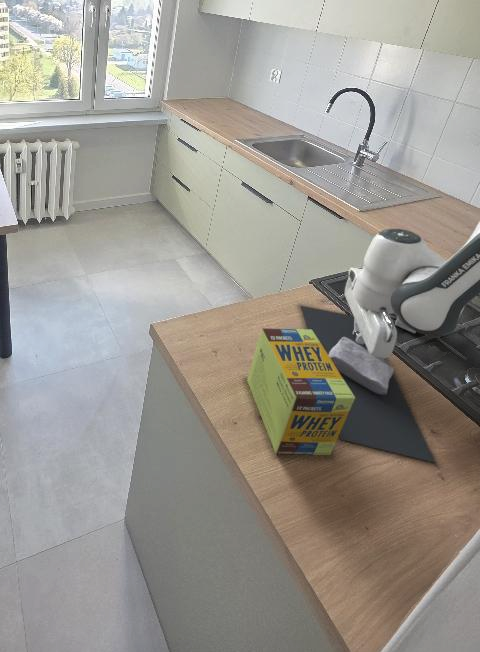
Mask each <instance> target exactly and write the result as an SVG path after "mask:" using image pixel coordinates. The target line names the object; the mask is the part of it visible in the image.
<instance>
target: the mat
mask: <svg viewBox="0 0 480 652" xmlns="http://www.w3.org/2000/svg"><path fill="white" fill-rule="evenodd" d="M300 309H301V312H302V316H303V319H304V322H305V326H306V329H311V330H312V331H313V332H314V334H315V335H316V337H317V338H318V340H319V341H320V343H321V345H322V346H323V348H324V349H325V351H326V352H327V354H328V355H329V352H330V351H331V349H332V348H333V347H334V346H336V344H337V343H338V342H339V340H340V339H341V338H342V337H346V338H348V339H350V340H352V341H354V342H355V343H356V340H355V338H354V335H353V331H354V319H355V318H354V316H353V314H352V315H351V314H346V313H340V312H335V311H331V310H324V309H320V308H315V307H309V306H304V305H301V306H300ZM356 344H358V343H356ZM359 345H360V346H362V347H364V348H366V349H367V346H366V344H359ZM367 350H368V349H367ZM339 373H340V372H339ZM340 375H341V376H342V378H343V379H344V381H345V382H346V384H347V386H348V387H349V389H350V390H351V392H352V393H353V395H354V396H355V399H354V402H353V404H352V406H351V409H350V411H349V413H348V415H347V418H346V420H345V422H344V424H343V427H342V429H341V431H340V434H339V436H338V440H339V441H342V442H346V443H351V444H353V445H354V444H355V445H360V446H363V447H367V448H371V449H376V450H379V451H383V452H387V453H391V454H395V455H399V456H403V457H408V458H412V459H416V460H420V461H424V462H429V463H432V464H436V461H435V459H434V456H433V454H432V452H431V451H430V448H429V446H428V444H427V442H426V440H425V437H424V435H423V433H422V431H421V429H420V427H419V425H418V423H417V420H416V419H415V416H414V415H413V412H412V410H411V408H410V406H409V403H408V401H407V399H406V398H405V395H404V393H403V391H402V389H401V387H400V385H399V383H398V381H397V378H396V376H395V375H394V373H393V375H392V377H391V378H390V379H389V382H388V389H387V393H386V394H385V395H379V394H376V393H374V392H372V391H370V390H368V389H367V388H365V387H364V386H363V385H361V384H359V383H357V382H355V381H353V380H352V379H350V378H349V377H347V376H345V375H343V374H342V373H340Z"/></svg>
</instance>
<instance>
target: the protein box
mask: <svg viewBox="0 0 480 652" xmlns="http://www.w3.org/2000/svg"><path fill="white" fill-rule="evenodd" d="M246 382H247V385H248V387H249V389H250V392H251V394H252V397H253V400H254V403H255V405H256V407H257V410H258V413H259V415H260V417H261V420H262V423H263V426H264V428H265V430H266V432H267V436H268V438H269V440H270V443H271V446H272V448H273V451H274V454H276V455H300V456H301V455H302V456H304V455H305V456H330V455H331V454H332V452H333V450H334V447H335V446H336V443H337V440H338V439H339V437H338V436H339V434H340V431H341V429H342V427H343V424H344V422H345V420H346V418H347V415H348V413H349V411H350V409H351V406H352V404H353V402H354V399H355V396H354V395H353V393H352V392H351V390H350V389H349V387H348V386H347V384H346V382H345V381H344V379H343V378H342V376H341V375H340V373H339V371H338V370H337V368H336V367H335V365H334V363H333V362H332V360H331V359H330V357H329V356H328V354H327V352H326V351H325V349H324V348H323V346H322V345H321V343H320V341H319V340H318V338H317V337H316V335H315V334H314V332H313V331H312V330H311V329H307V328H265V327H262V328H261V330H260V334H259V337H258V340H257V344H256V347H255V351H254V355H253V358H252V362H251V365H250V368H249V372H248V376H247V380H246Z"/></svg>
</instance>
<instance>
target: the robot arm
mask: <svg viewBox="0 0 480 652" xmlns="http://www.w3.org/2000/svg"><path fill="white" fill-rule="evenodd" d="M347 278H348V279H347V280H346V283H345V287H344V298H345V300H346V302H347V304H348V306H349V307H348V308H349V309H350V311H351V313H352V316H354V318H355V319H354V331H353V335H354V338H355V340H356V343H358V344H366V346H367V349H368V351H369V353H370V355H372V356H375V357H379V358H385V359H390V358H391V357H392V354H393V352H394V349H395V345H396V342H397V339H398V330H397V328H396V327H397V326H396V325H395V322H394V320H393V319H392V318H391V316H390V315H391V314H395V316H396V318H397V317H398V318H399V319H400V321H401V322H402V323H404V324H405V325H406V326H407V327H409V328H410V329H412V330H414V331H416V333H419V334H421V335H425V336H427V337H436V338H437V337H445V336H448V335H450V334H452V333H453V332H454V331H455V330H456V328H457V325H458V323H459V321H460V317H461V315H462V313H463V311H464V309H465V308H466V306H467V305H468V304H469V303H470V302H471V301H472V300H473V299H475V298H476V297H477V296H479V295H480V220H479V221H478V223H477V225H476V227H475V229H474V230H473V232H472V234H471V235H470V237H469V238H468V239H467V241H466V242H465V243H464V244H463V246H462V247H461V248H460V249H459V250H457V252H455V253H454V254H453V255H452V256H451V257H450V258H449V259H445V258H444V257H442V256H441V255H439V254H438V253H436V252H435V251H434V250H433V249H432V248H430V247H429V246H428V245H427V243H426V242H425V240H424V239H423V238H422V237H421V236H420V235H419V234H417V233H415V232H412V231H410V230H407V229H402V228H386V229H383V230H381V231H379V232H378V233H376V234H375V236H374V237H373V239H372V240H371V242H370V244H369V246H368V249H367V250H366V253H365V255H364V258H363V267H362V268H358V267H350V268H349V270H348V277H347Z"/></svg>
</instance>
